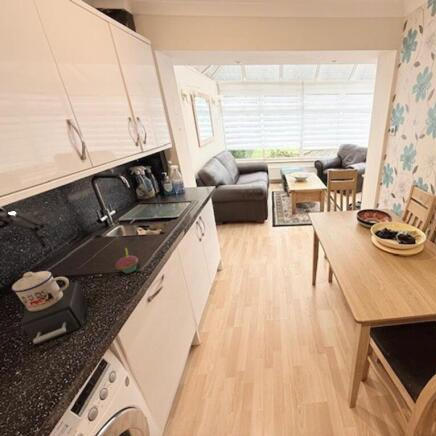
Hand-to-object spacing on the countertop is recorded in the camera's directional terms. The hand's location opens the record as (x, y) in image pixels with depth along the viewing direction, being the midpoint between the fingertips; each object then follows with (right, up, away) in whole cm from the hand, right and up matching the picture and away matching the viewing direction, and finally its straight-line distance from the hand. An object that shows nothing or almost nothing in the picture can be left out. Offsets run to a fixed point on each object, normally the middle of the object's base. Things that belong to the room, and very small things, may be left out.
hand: (17, 255), depth 80 cm
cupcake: (+20, -12, +27) cm, 36 cm away
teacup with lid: (+13, -15, -1) cm, 20 cm away
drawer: (+15, -24, -1) cm, 28 cm away
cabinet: (+14, -23, +3) cm, 27 cm away
